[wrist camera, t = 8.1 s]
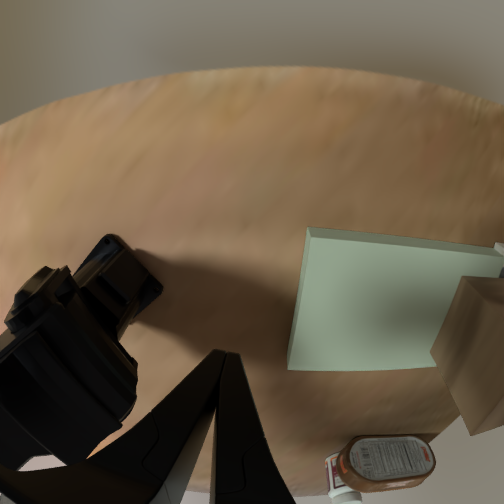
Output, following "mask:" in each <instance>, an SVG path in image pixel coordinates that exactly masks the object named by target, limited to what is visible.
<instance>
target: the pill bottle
mask: <svg viewBox="0 0 504 504" xmlns="http://www.w3.org/2000/svg"><path fill="white" fill-rule="evenodd" d="M339 453H340V452H339ZM339 453H335V454H333V455H331V456H329V457H328V458H327V459H326V460H325V466H326V475H327V486H328V495H329V497H330V498H332V504H361V503H362V497H361V494H360V492H358V491H355V490H353V489H351V488H349V487H348V486H346V485H345V484H344V483H343V482H342V480H341V479H340V478H339V476H338V474H337V471H336V459H337V456H338V454H339Z"/></svg>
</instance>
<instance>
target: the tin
mask: <svg viewBox="0 0 504 504" xmlns="http://www.w3.org/2000/svg"><path fill="white" fill-rule="evenodd" d="M435 465H436V460H435V456H434V454H433V451H432V450H431V447H430V446H429V444H428V443H427V442H426V441H424V440H423V439H421V438H419V437H417V436H413V435H383V436H360V437H357V438H355V439H353V440H352V441H350V442H349V443H348V444H347V445H346V447H345V448H343V449H342V450H341V451H340V453H339V454H338V456H337V459H336V471H337V474H338V476H339V478H340V479H341V480H342V482H343V483H344V484H345V485H346V486H348V487H349V488H351V489H353V490H355V491H358V492H362V493H372V492H381V491H390V490H398V489H405V488H412V487H415V486H418V485H419V484H421V483H422V482H423V481H424V480H425V479H426V478H427V477H428V476H429V475H430V474H431V473H432V472H433V470H434V468H435Z"/></svg>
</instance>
